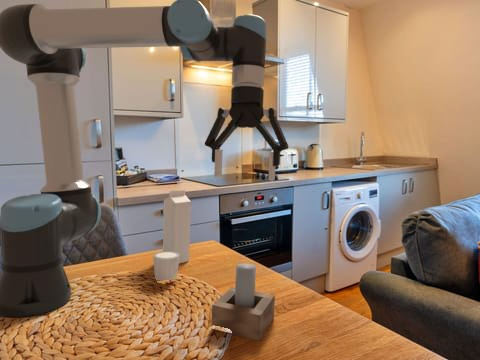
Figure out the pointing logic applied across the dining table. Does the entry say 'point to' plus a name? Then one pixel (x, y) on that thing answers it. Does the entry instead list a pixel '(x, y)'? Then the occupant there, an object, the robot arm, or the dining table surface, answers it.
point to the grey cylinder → (245, 285)
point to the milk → (177, 224)
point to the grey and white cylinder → (166, 265)
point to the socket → (244, 314)
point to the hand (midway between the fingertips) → (244, 178)
